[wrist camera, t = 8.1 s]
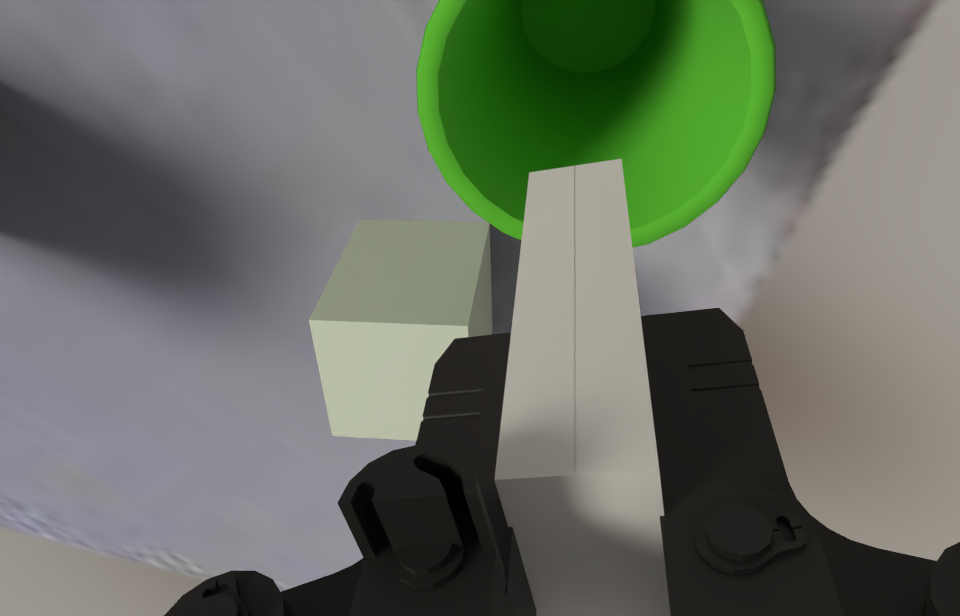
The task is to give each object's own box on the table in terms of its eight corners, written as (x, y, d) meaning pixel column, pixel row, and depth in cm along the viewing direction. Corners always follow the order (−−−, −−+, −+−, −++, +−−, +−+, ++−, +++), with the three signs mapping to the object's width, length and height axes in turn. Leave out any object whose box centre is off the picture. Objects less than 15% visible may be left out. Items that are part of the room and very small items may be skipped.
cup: (419, 5, 29) (345, 105, 20) (596, -206, 24) (605, -201, 15) (580, 161, 31) (580, 310, 23) (764, -2, 27) (855, 102, 18)
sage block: (375, 323, 38) (332, 435, 31) (360, 218, 34) (308, 320, 28) (492, 328, 37) (474, 443, 31) (489, 221, 34) (467, 326, 27)
